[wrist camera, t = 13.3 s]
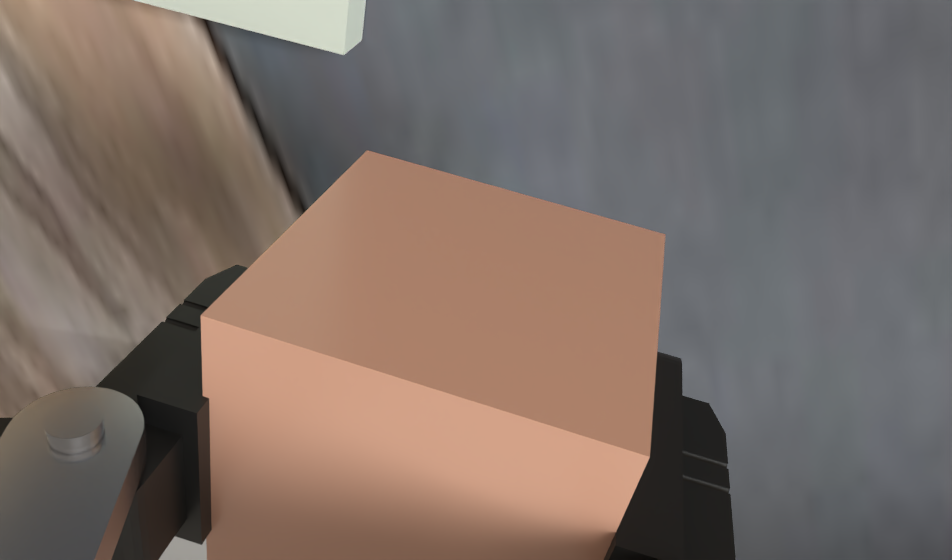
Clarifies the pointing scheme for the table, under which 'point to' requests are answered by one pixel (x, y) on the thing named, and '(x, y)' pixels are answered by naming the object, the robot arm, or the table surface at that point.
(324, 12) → the board
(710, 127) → the table surface
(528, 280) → the terracotta block
